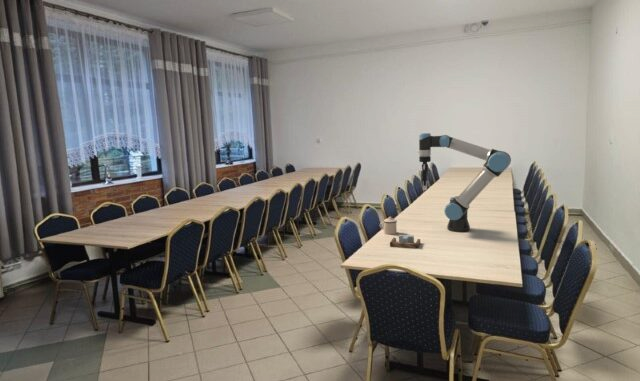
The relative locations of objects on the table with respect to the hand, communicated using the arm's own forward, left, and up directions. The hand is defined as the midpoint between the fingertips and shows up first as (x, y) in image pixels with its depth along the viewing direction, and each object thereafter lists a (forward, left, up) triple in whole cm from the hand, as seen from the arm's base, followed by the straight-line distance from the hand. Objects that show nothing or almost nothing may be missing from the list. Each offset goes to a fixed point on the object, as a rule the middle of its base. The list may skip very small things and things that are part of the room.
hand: (424, 190), depth 278 cm
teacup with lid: (+24, +10, -30) cm, 39 cm away
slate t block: (+8, +34, -29) cm, 45 cm away
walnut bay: (+8, +36, -29) cm, 47 cm away
